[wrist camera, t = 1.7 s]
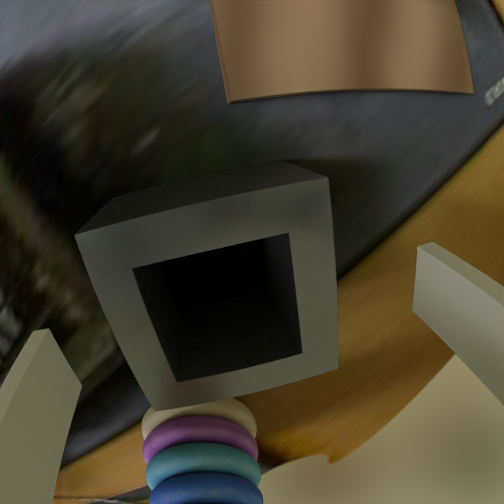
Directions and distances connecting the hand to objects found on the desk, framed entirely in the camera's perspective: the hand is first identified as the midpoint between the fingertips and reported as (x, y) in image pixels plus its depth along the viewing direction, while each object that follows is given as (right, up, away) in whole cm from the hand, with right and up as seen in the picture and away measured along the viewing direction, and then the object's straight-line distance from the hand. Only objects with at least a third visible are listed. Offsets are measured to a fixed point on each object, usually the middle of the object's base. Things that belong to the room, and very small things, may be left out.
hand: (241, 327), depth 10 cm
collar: (-2, +2, +6) cm, 6 cm away
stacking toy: (-3, -10, +10) cm, 14 cm away
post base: (+5, +17, +1) cm, 18 cm away
